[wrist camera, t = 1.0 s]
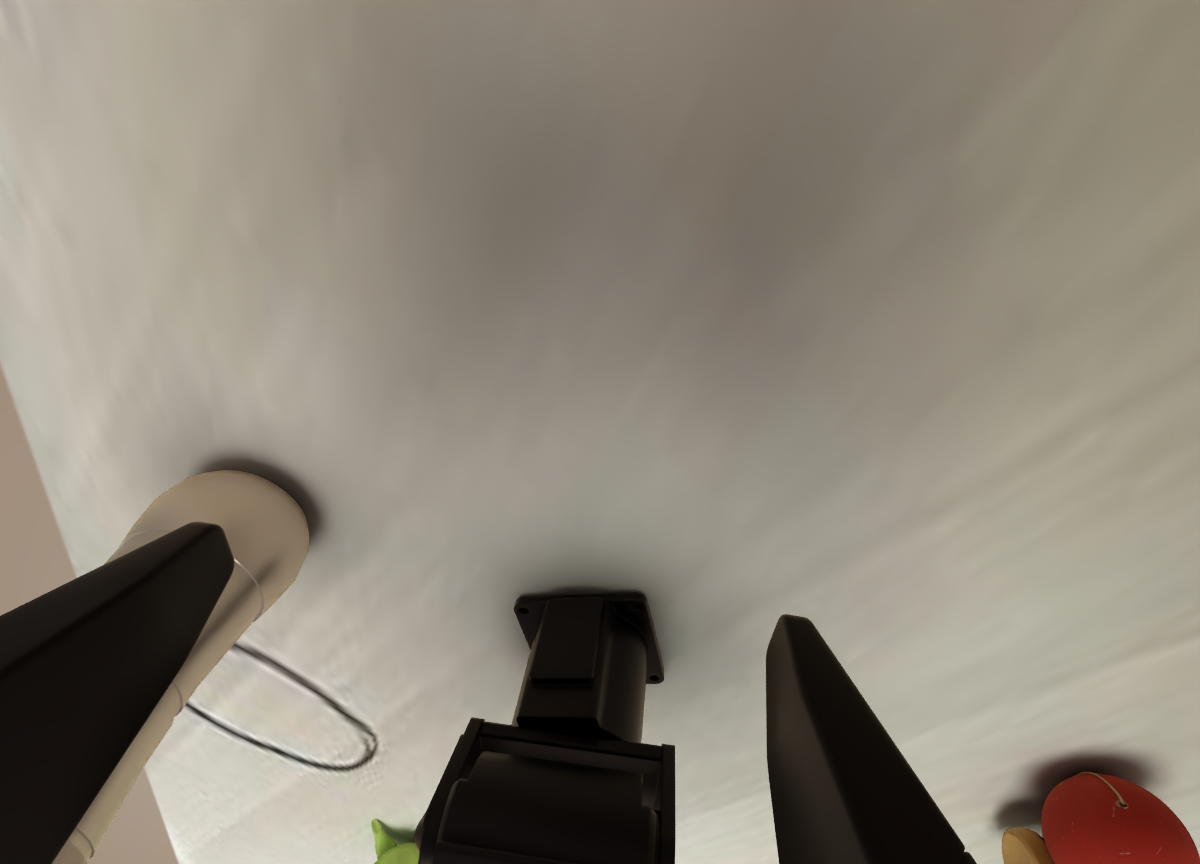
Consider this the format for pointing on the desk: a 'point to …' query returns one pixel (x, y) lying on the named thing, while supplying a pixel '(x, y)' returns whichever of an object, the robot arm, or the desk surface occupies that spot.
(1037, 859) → the kendama
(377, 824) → the green eared figurine
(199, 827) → the desk surface
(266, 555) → the plastic bottle
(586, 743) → the robot arm
